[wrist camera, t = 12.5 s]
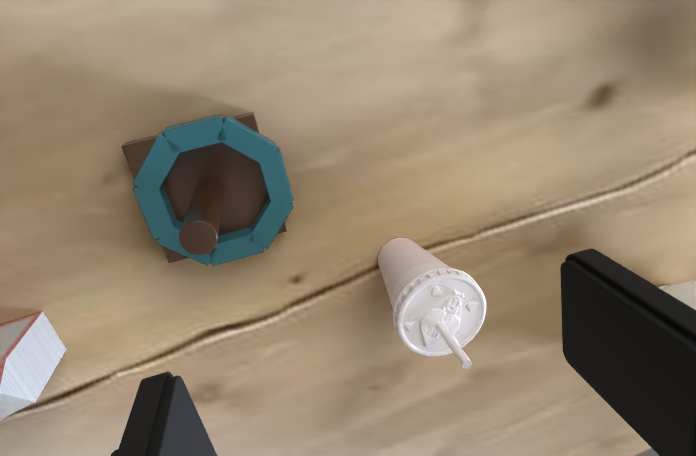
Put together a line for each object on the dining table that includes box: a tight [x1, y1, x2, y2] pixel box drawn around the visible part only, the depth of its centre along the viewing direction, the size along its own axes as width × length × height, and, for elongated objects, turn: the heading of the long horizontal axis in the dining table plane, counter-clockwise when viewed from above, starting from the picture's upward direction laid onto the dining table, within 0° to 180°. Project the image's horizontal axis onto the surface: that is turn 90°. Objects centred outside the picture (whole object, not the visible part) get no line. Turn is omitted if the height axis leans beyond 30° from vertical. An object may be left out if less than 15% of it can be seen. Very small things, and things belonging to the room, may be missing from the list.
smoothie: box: [378, 238, 486, 368], centre depth 33 cm, size 6×6×14 cm
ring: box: [133, 114, 294, 266], centre depth 33 cm, size 10×10×2 cm
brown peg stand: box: [122, 112, 287, 263], centre depth 30 cm, size 9×9×10 cm
